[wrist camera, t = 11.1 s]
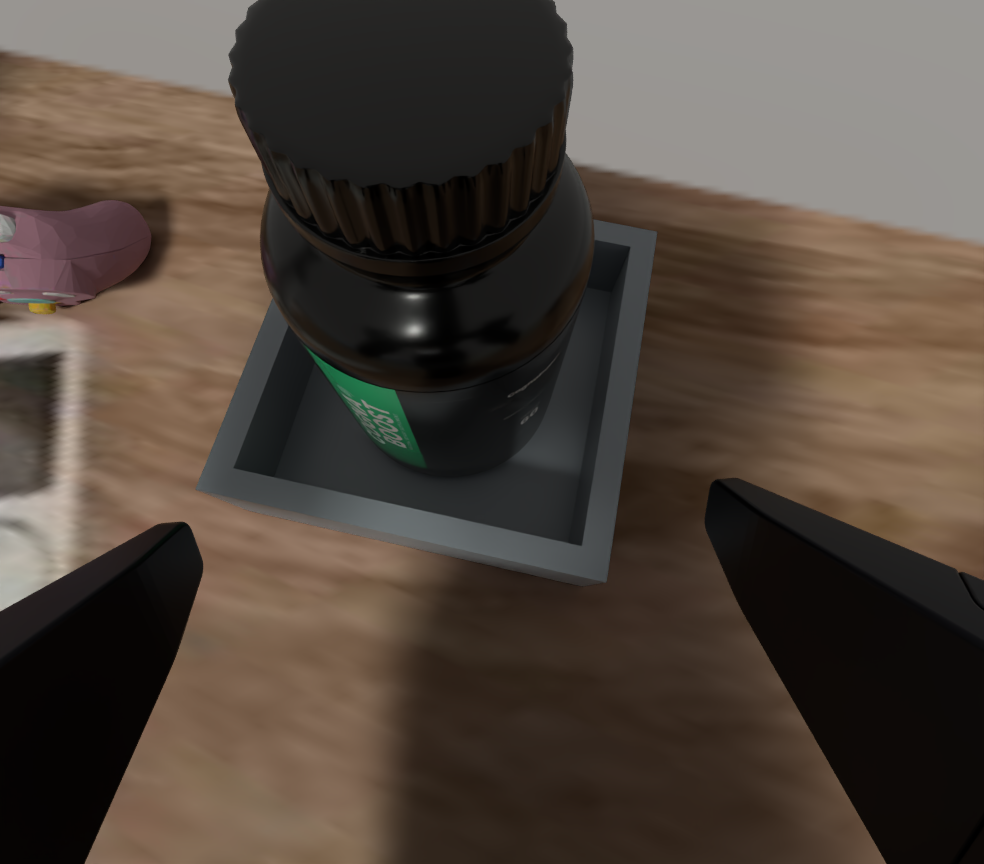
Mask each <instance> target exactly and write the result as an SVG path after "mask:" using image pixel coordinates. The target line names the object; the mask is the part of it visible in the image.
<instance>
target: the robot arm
mask: <svg viewBox="0 0 984 864" xmlns="http://www.w3.org/2000/svg"><path fill="white" fill-rule="evenodd" d="M705 528H706V531H707V534H708V536H709V538H710V541H711V543H712V545H713V548H714V550H715V552H716V555H717V557H718V559H719V562H720V564H721V566H722V568H723V571H724V573H725V575H726V578H727V580H728V582H729V585H730V587H731V589H732V591H733V594H734V596H735V598H736V600H737V602H738V604H739V606H740V608H741V610H742V612H743V614H744V615H745V617H746V619H747V621H748V623H749V624H750V626H751V628H752V630H753V631H754V633H755V635H756V637H757V638H758V640H759V642H760V643H761V645H762V647H763V649H764V650H765V652H766V654H767V656H768V657H769V659H770V661H771V663H772V664H773V666H774V668H775V670H776V671H777V673H778V675H779V677H780V678H781V680H782V682H783V684H784V685H785V687H786V689H787V691H788V692H789V694H790V696H791V698H792V699H793V701H794V703H795V705H796V706H797V708H798V710H799V712H800V713H801V715H802V717H803V719H804V720H805V722H806V724H807V726H808V727H809V729H810V731H811V733H812V734H813V736H814V738H815V740H816V741H817V743H818V745H819V747H820V748H821V750H822V752H823V753H824V755H825V757H826V759H827V760H828V762H829V764H830V766H831V767H832V769H833V771H834V773H835V774H836V776H837V778H838V780H839V781H840V783H841V785H842V787H843V788H844V790H845V792H846V794H847V795H848V797H849V799H850V801H851V802H852V804H853V806H854V808H855V809H856V811H857V813H858V815H859V816H860V818H861V820H862V822H863V823H864V825H865V827H866V829H867V830H868V832H869V834H870V836H871V837H872V839H873V841H874V843H875V844H876V846H877V848H878V850H879V851H880V853H881V855H882V857H883V858H884V860H885V862H886V863H887V864H984V580H981V579H979V578H977V577H974V576H972V575H969V574H967V573H965V572H959V573H958V571H957V570H956V569H955V568H952V567H950V566H948V565H945V564H943V563H940V562H938V561H936V560H933V559H931V558H928V557H926V556H924V555H921V554H919V553H916V552H914V551H912V550H909V549H907V548H904V547H902V546H900V545H897V544H895V543H892V542H890V541H888V540H885V539H883V538H880V537H878V536H876V535H873V534H871V533H868V532H866V531H864V530H861V529H859V528H856V527H854V526H852V525H849V524H847V523H844V522H842V521H840V520H837V519H835V518H832V517H830V516H828V515H825V514H823V513H820V512H818V511H816V510H813V509H811V508H808V507H806V506H804V505H801V504H799V503H796V502H794V501H792V500H789V499H787V498H784V497H782V496H780V495H777V494H775V493H772V492H770V491H768V490H765V489H763V488H760V487H758V486H756V485H753V484H751V483H748V482H746V481H744V480H741V479H738V478H727V479H717V480H715V481H713V482H712V484H711V486H710V490H709V496H708V502H707V508H706V513H705ZM202 574H203V560H202V557H201V554H200V552H199V549H198V546H197V543H196V541H195V538H194V535H193V532H192V530H191V528H190V526H189V525H188V524H187V523H185V522H171V523H161V524H158V525H155V526H154V527H152V528H150V529H148V530H146V531H145V532H143V533H141V534H139V535H137V536H136V537H134V538H132V539H130V540H128V541H127V542H125V543H123V544H121V545H119V546H118V547H116V548H114V549H112V550H110V551H109V552H107V553H105V554H103V555H101V556H100V557H98V558H96V559H94V560H92V561H91V562H89V563H87V564H85V565H83V566H82V567H80V568H78V569H76V570H74V571H73V572H71V573H69V574H67V575H65V576H64V577H62V578H60V579H58V580H56V581H54V582H53V583H51V584H49V585H47V586H45V587H44V588H42V589H40V590H38V591H36V592H35V593H33V594H31V595H29V596H27V597H26V598H24V599H22V600H20V601H18V602H17V603H15V604H13V605H11V606H9V607H8V608H6V609H4V610H2V611H0V864H85V861H86V859H87V857H88V855H89V852H90V850H91V848H92V846H93V843H94V841H95V839H96V836H97V834H98V832H99V830H100V827H101V825H102V823H103V821H104V818H105V816H106V814H107V812H108V809H109V807H110V805H111V803H112V800H113V798H114V796H115V794H116V791H117V789H118V787H119V785H120V782H121V780H122V778H123V776H124V773H125V771H126V769H127V767H128V764H129V762H130V760H131V758H132V755H133V753H134V751H135V749H136V746H137V744H138V742H139V740H140V737H141V735H142V733H143V731H144V728H145V726H146V724H147V721H148V719H149V717H150V715H151V712H152V710H153V708H154V706H155V703H156V701H157V699H158V697H159V694H160V692H161V690H162V688H163V685H164V683H165V681H166V679H167V676H168V674H169V672H170V669H171V667H172V665H173V662H174V660H175V657H176V655H177V652H178V649H179V646H180V643H181V640H182V637H183V634H184V631H185V628H186V625H187V621H188V618H189V615H190V612H191V609H192V606H193V603H194V600H195V596H196V593H197V590H198V587H199V584H200V581H201V578H202Z"/></svg>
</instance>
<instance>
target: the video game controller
mask: <svg viewBox="0 0 984 864" xmlns="http://www.w3.org/2000/svg"><path fill="white" fill-rule="evenodd" d="M151 236H152V234H151V232H150V230H149V227H148V224H147V223H146V221H145V220H144V218H143V216H142V215H141V214H140V213H139V211H138V210H136V209H135V208H134V207H133V206H131V205H130V204H128V203H125V202H121V201H117V200H106V201H101V202H97V203H94V204H91V205H88V206H84V207H81V208H77V209H73V210H68V211H43V210H33V209H24V208H15V207H6V206H0V301H1V302H5V303H11V304H26V305H29V309H30V311H31V312H33V313H36V314H52V313H55V312H56V306H65V305H78V304H80V303H81V300H86V299H93V298H95V297H96V293H98V292H100V291H102V290H104V289H107V288H109V287H111V286H113V285H115V284H117V283H119V282H120V281H122V280H124V279H125V278H126V277H128V276H129V275H130V274H132V273H133V272H134V271H135V270H137V268H138V267H139V266H140V265H141V263H142V262H143V261H144V260H145V258H146V256H147V254H148V252H149V250H150V245H151Z"/></svg>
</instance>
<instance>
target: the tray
mask: <svg viewBox="0 0 984 864" xmlns="http://www.w3.org/2000/svg"><path fill="white" fill-rule="evenodd" d="M593 220H594V219H593ZM594 234H595V244H594V256H593V262H592V267H591V272H590V276H589V281H588V284H587V288H586V291H585V294H584V298H583V301H582V304H581V307H580V310H579V313H578V316H577V319H576V323H575V326H574V329H573V332H572V335H571V338H570V341H569V344H568V347H567V350H566V353H565V357H564V360H563V363H562V366H561V369H560V372H559V375H558V378H557V381H556V384H555V387H554V390H553V394H552V397H551V400H550V403H549V405H548V408H547V410H546V413H545V415H544V418H543V420H542V422H541V424H540V426H539V428H538V429H537V431H536V432H535V434H534V435H533V437H532V438H531V439H530V440H529V442H528V443H527V444H526V445H525V446H524V447H523V448H522V449H521V450H520V451H519V452H518V453H517V454H515V455H514V456H513V457H511V458H510V459H509V460H507V461H505V462H504V463H502V464H500V465H498V466H496V467H494V468H492V469H490V470H487V471H485V472H481V473H478V474H474V475H469V476H462V477H438V476H431V475H426V474H422V473H419V472H416V471H413V470H411V469H408V468H406V467H404V466H402V465H400V464H398V463H397V462H395V461H394V460H392V459H391V458H389V457H388V456H387V455H386V454H384V453H383V452H382V451H381V450H380V449H379V448H378V447H377V446H376V445H375V444H374V443H373V442H372V441H371V440H370V438H369V437H368V436H367V435H366V433H365V432H364V431H363V429H362V428H361V427H360V425H359V424H358V423H357V421H356V420H355V418H354V417H353V416H352V414H351V413H350V411H349V410H348V409H347V407H346V406H345V404H344V403H343V402H342V400H341V399H340V397H339V396H338V395H337V393H336V392H335V390H334V389H333V388H332V386H331V385H330V383H329V382H328V381H327V379H326V378H325V377H324V375H323V374H322V372H321V371H320V370H319V368H318V367H317V365H316V364H315V363H314V361H313V360H312V358H311V357H310V356H309V354H308V353H307V351H306V350H305V349H304V347H303V346H302V344H301V343H300V341H299V340H298V339H297V337H296V336H295V334H294V333H293V332H292V330H291V329H290V327H289V326H288V324H287V322H286V321H285V319H284V317H283V316H282V314H281V312H280V311H279V309H278V307H277V305H276V303H275V301H274V299H272V301H271V304H270V306H269V308H268V311H267V313H266V316H265V318H264V321H263V323H262V326H261V328H260V331H259V333H258V336H257V338H256V341H255V343H254V346H253V348H252V351H251V353H250V356H249V358H248V360H247V363H246V365H245V368H244V370H243V373H242V375H241V378H240V380H239V383H238V385H237V388H236V390H235V393H234V395H233V398H232V400H231V403H230V405H229V408H228V410H227V412H226V415H225V417H224V420H223V422H222V425H221V427H220V430H219V432H218V435H217V437H216V440H215V442H214V445H213V447H212V450H211V452H210V455H209V457H208V460H207V462H206V465H205V467H204V469H203V472H202V474H201V477H200V479H199V482H198V484H197V487H196V490H198V491H201V492H203V493H206V494H208V495H211V496H213V497H216V498H218V499H221V500H223V501H226V502H228V503H231V504H233V505H236V506H238V507H241V508H243V509H246V510H248V511H252V512H257V513H261V514H265V515H270V516H274V517H279V518H283V519H287V520H292V521H296V522H301V523H305V524H309V525H314V526H318V527H323V528H327V529H331V530H336V531H340V532H345V533H349V534H353V535H358V536H362V537H367V538H371V539H376V540H380V541H384V542H389V543H393V544H398V545H402V546H406V547H411V548H415V549H420V550H424V551H428V552H433V553H437V554H442V555H446V556H450V557H455V558H459V559H464V560H468V561H472V562H477V563H481V564H486V565H490V566H494V567H499V568H503V569H508V570H512V571H516V572H521V573H525V574H530V575H534V576H538V577H543V578H547V579H552V580H556V581H560V582H565V583H569V584H574V585H578V586H582V587H583V586H589V585H595V584H600V583H606V582H607V576H608V569H609V562H610V555H611V548H612V542H613V535H614V528H615V521H616V514H617V507H618V500H619V493H620V486H621V479H622V472H623V466H624V459H625V452H626V445H627V438H628V431H629V424H630V417H631V410H632V403H633V397H634V390H635V383H636V376H637V369H638V362H639V355H640V348H641V341H642V334H643V327H644V321H645V314H646V307H647V300H648V293H649V286H650V279H651V272H652V265H653V258H654V252H655V245H656V238H657V232H656V231H651V230H646V229H641V228H635V227H630V226H625V225H620V224H615V223H609V222H604V221H599V220H594Z"/></svg>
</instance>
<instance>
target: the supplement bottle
mask: <svg viewBox="0 0 984 864" xmlns="http://www.w3.org/2000/svg"><path fill="white" fill-rule="evenodd" d="M229 58H230V62H231V65H232V69H231V72H230V75H229V79H228V81H229V85H230V88H231V91H232V94H233V96H234V98H235V107H236V111H237V114H238V117H239V119H240V121H241V123H242V126H243V127H244V129H245V131H246V133H247V135H248V137H249V139H250V141H251V143H252V145H253V147H254V149H255V151H256V153H257V155H258V157H259V159H260V161H261V164H262V168H263V172H264V175H265V178H266V181H267V183H268V186H269V191H268V194H267V198H266V201H265V205H264V209H263V214H262V220H261V231H260V250H261V260H262V266H263V271H264V275H265V278H266V282H267V285H268V288H269V291H270V293H271V295H272V297H273V299H274V301H275V303H276V305H277V307H278V309H279V311H280V312H281V314H282V316H283V317H284V319H285V321H286V322H287V324H288V326H289V327H290V329H291V330H292V332H293V333H294V334H295V336H296V337H297V339H298V340H299V341H300V343H301V344H302V346H303V347H304V349H305V350H306V351H307V353H308V354H309V356H310V357H311V358H312V360H313V361H314V363H315V364H316V365H317V367H318V368H319V370H320V371H321V372H322V374H323V375H324V377H325V378H326V379H327V381H328V382H329V383H330V385H331V386H332V388H333V389H334V390H335V392H336V393H337V395H338V396H339V397H340V399H341V400H342V402H343V403H344V404H345V406H346V407H347V409H348V410H349V411H350V413H351V414H352V416H353V417H354V418H355V420H356V421H357V423H358V424H359V425H360V427H361V428H362V429H363V431H364V432H365V433H366V435H367V436H368V437H369V438H370V440H371V441H372V442H373V443H374V444H375V445H376V446H377V447H378V448H379V449H380V450H381V451H382V452H383V453H384V454H386V455H387V456H388V457H389V458H391V459H392V460H394V461H395V462H397V463H398V464H400V465H402V466H404V467H406V468H408V469H411V470H413V471H416V472H419V473H422V474H426V475H431V476H438V477H462V476H469V475H474V474H478V473H481V472H485V471H487V470H490V469H492V468H494V467H496V466H498V465H500V464H502V463H504V462H505V461H507V460H509V459H510V458H511V457H513V456H514V455H515V454H517V453H518V452H519V451H520V450H521V449H522V448H523V447H524V446H525V445H526V444H527V443H528V442H529V440H530V439H531V438H532V437H533V435H534V434H535V432H536V431H537V429H538V428H539V426H540V424H541V422H542V420H543V418H544V415H545V413H546V410H547V408H548V405H549V403H550V400H551V397H552V394H553V390H554V387H555V384H556V381H557V378H558V375H559V372H560V369H561V366H562V363H563V360H564V357H565V353H566V350H567V347H568V344H569V341H570V338H571V335H572V332H573V329H574V326H575V323H576V319H577V316H578V313H579V310H580V307H581V304H582V301H583V298H584V294H585V291H586V288H587V284H588V281H589V276H590V272H591V267H592V262H593V256H594V244H595V234H594V220H593V215H592V209H591V205H590V202H589V199H588V195H587V192H586V190H585V187H584V185H583V183H582V180H581V178H580V176H579V174H578V172H577V170H576V168H575V167H574V165H573V163H572V161H571V160H570V158H569V157H568V156H567V154H566V153H565V151H566V124H567V118H568V112H569V106H570V101H571V95H572V88H573V72H572V65H573V47H572V45H571V43H570V41H569V40H568V38H567V24H566V22H565V21H564V20H563V19H562V18H561V17H560V16H559V15H558V14H557V13H556V6H555V2H554V1H553V0H258V1H257V2H255V3H254V4H253V5H251V6H250V7H249V8H248V11H247V16H246V20H245V21H244V22H243V23H242V24H241V25H240V26H239V27H238V28H237V29H236V43H235V46H234V47H233V48H232V49H231V51H230V53H229Z"/></svg>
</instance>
